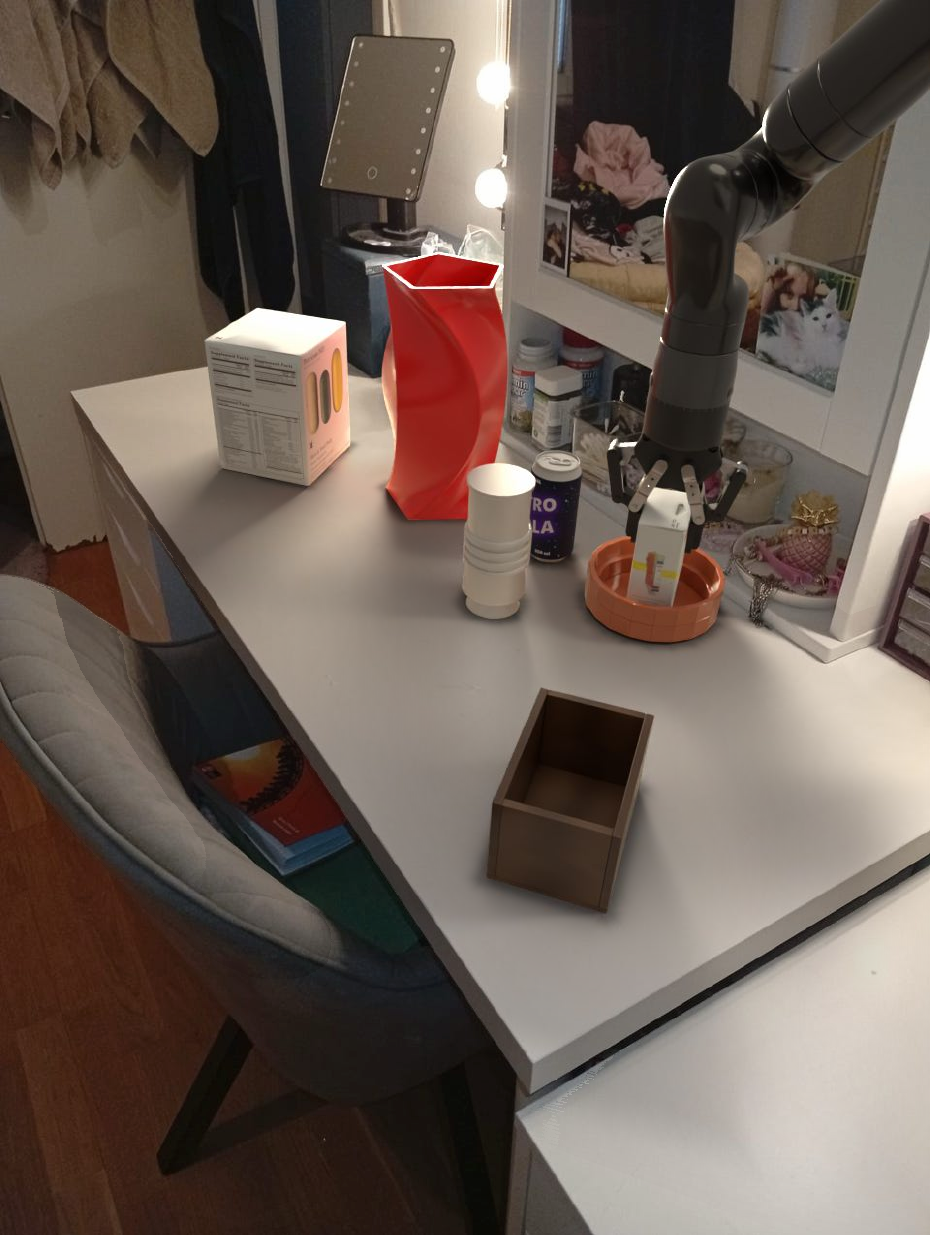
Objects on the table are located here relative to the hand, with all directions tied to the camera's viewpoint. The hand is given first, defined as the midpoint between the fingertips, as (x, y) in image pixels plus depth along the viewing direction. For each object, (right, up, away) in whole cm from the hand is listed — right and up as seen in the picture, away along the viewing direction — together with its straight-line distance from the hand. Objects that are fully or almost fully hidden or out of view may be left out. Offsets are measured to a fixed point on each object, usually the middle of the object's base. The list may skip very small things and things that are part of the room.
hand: (661, 543), depth 97 cm
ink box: (0, -6, +5) cm, 8 cm away
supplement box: (-44, +14, +29) cm, 55 cm away
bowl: (0, -6, +5) cm, 8 cm away
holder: (-12, -25, -21) cm, 35 cm away
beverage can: (-11, 0, +12) cm, 16 cm away
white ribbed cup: (-17, -6, +4) cm, 19 cm away
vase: (-24, +8, +23) cm, 34 cm away
